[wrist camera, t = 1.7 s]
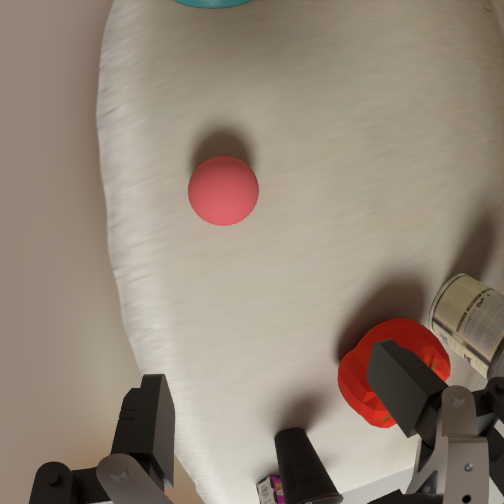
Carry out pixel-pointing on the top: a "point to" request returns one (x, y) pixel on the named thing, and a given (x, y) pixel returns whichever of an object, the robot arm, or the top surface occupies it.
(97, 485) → the robot arm
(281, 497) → the candy bar box
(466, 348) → the coffee can
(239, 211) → the ball
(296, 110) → the top surface
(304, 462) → the drinking cup
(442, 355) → the tomato
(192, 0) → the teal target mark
